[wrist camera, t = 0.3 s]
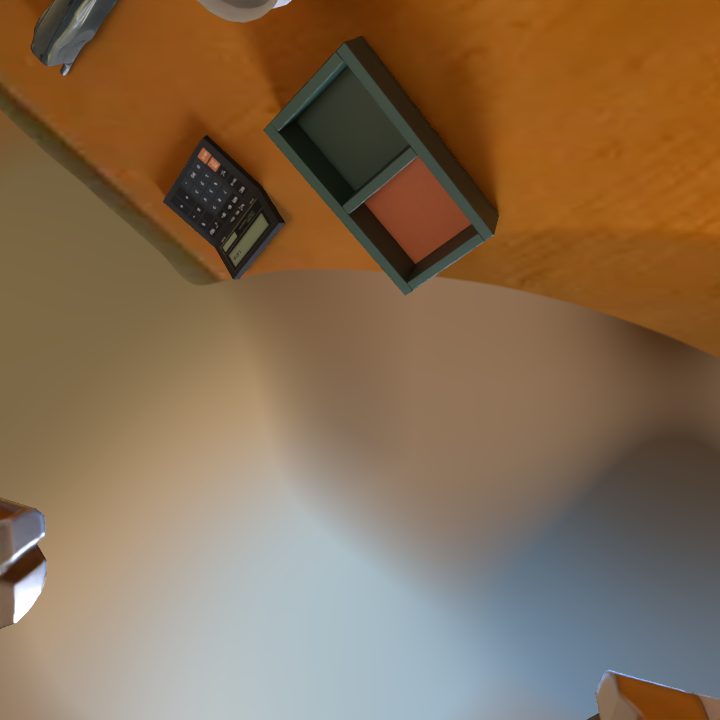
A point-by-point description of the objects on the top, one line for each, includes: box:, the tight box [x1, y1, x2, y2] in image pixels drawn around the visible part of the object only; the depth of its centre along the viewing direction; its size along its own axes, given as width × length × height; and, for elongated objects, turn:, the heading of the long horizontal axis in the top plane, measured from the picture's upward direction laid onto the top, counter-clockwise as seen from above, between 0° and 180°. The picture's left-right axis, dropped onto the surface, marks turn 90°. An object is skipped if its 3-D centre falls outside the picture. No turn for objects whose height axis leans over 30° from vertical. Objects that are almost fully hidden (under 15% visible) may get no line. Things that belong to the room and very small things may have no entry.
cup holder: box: [264, 36, 499, 296], centre depth 53 cm, size 10×20×5 cm, turn 43°
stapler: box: [31, 0, 117, 76], centre depth 53 cm, size 5×3×15 cm
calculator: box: [163, 136, 285, 279], centre depth 61 cm, size 9×12×3 cm
